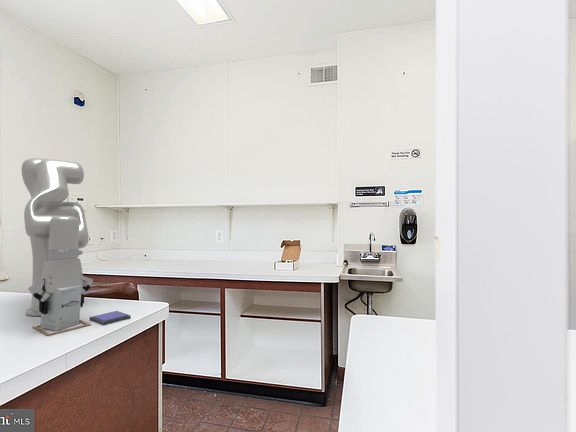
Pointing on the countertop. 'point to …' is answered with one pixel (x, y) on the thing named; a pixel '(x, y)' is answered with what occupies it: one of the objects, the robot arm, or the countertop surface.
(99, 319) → the ink pad
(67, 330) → the tan picture frame
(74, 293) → the supplement box
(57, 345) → the countertop surface
